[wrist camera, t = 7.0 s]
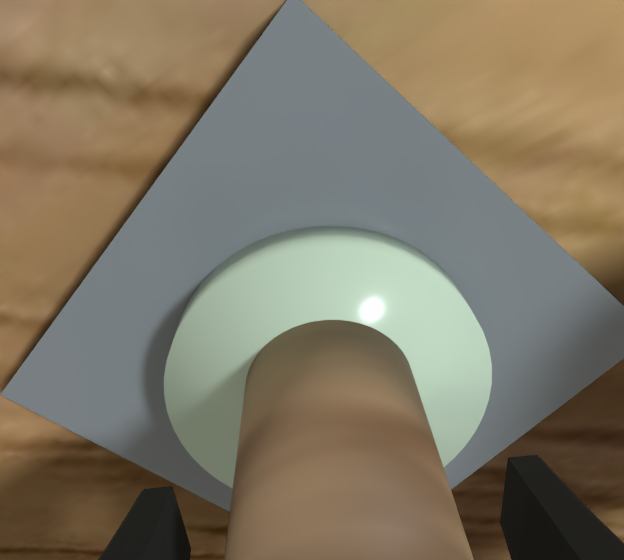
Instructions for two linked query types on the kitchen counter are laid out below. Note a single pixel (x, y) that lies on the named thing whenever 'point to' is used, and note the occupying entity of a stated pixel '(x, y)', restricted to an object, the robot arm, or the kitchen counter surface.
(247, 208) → the base
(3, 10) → the kitchen counter surface
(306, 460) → the walnut cylinder
